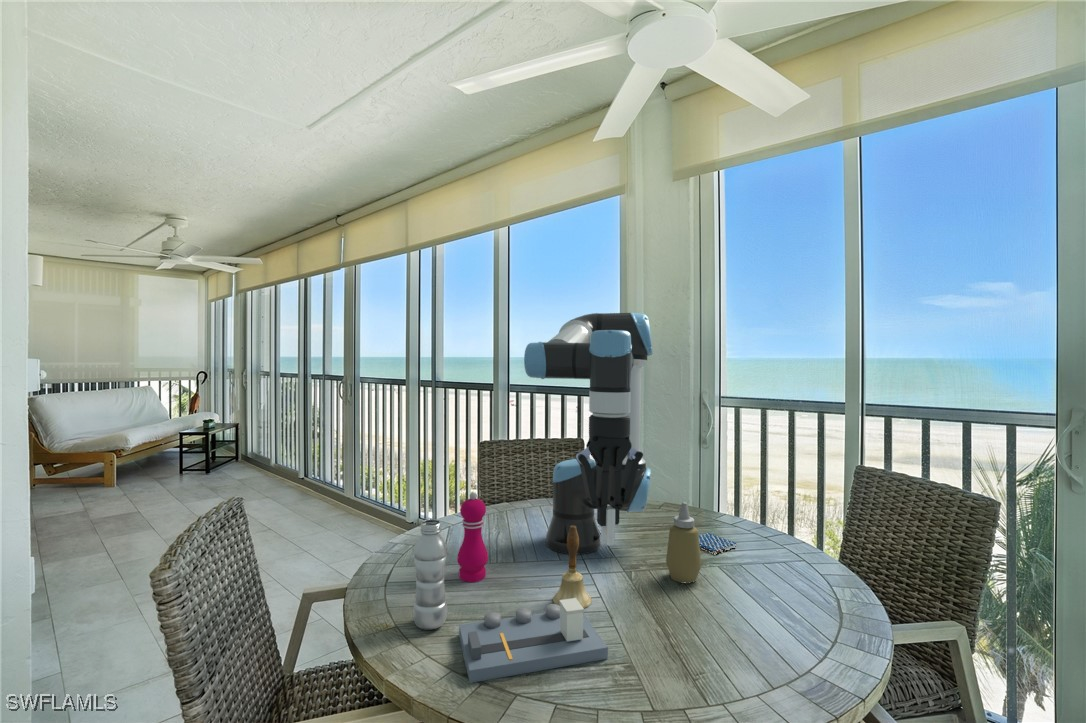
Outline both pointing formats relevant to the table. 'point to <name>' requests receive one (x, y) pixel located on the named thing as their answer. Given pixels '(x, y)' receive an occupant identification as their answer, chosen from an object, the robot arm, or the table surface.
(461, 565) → the pepper mill
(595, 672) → the table surface
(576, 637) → the fader tab
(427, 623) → the plastic bottle
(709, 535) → the woven mat
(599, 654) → the console board
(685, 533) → the squeeze bottle
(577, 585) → the hand bell
